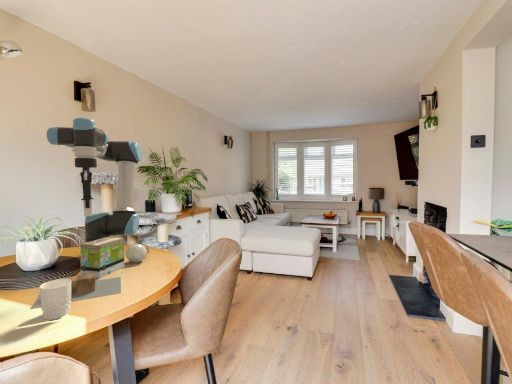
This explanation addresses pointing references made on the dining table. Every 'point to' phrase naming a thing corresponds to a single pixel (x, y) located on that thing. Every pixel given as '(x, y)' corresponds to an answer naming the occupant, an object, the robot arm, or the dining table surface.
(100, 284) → the rubber mat
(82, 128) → the robot arm
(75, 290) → the walnut block
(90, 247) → the tea box
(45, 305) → the white cup
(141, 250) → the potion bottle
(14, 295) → the dining table surface
